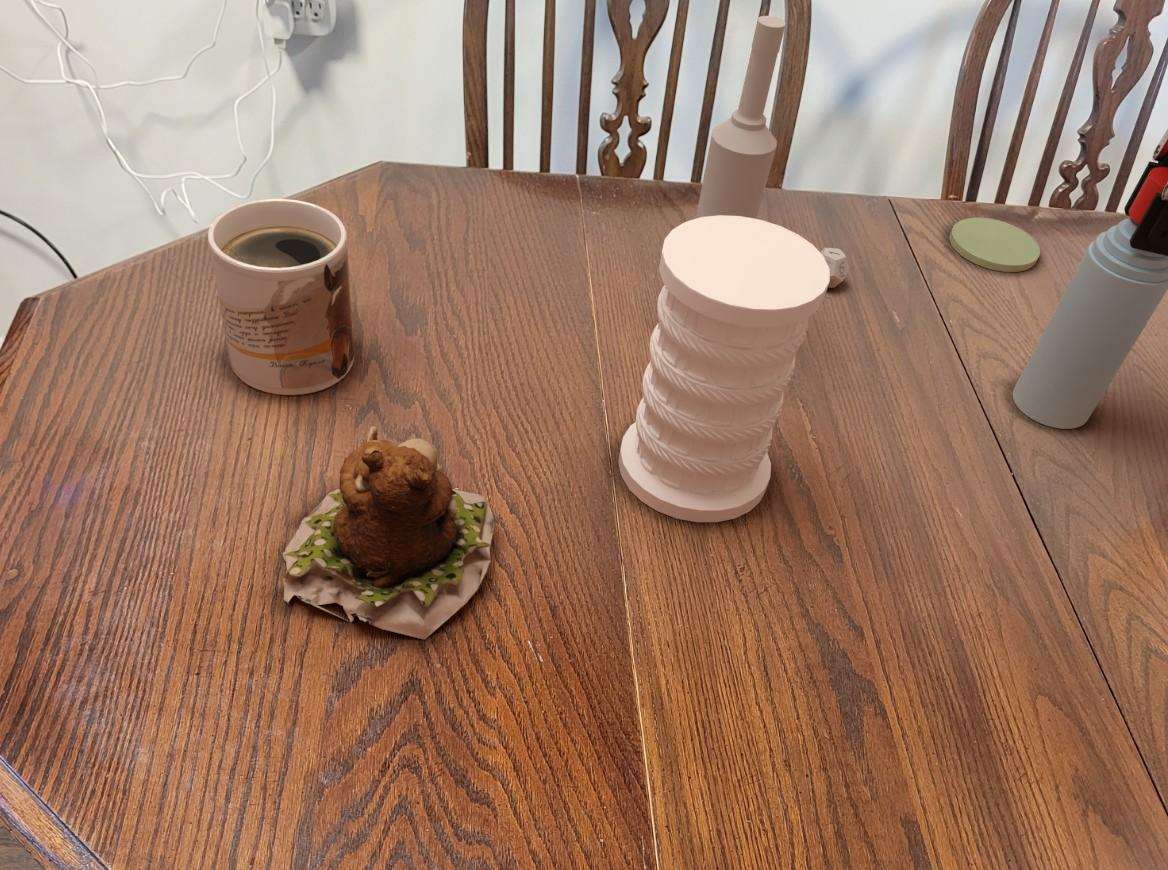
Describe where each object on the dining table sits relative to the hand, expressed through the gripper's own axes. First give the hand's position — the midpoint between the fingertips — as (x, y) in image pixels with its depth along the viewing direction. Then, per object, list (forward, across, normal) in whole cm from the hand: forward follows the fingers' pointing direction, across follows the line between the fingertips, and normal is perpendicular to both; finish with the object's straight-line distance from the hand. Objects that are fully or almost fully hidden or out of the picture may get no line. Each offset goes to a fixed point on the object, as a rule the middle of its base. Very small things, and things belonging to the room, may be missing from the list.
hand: (1148, 231), depth 78 cm
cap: (-1, 0, 0) cm, 1 cm away
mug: (+17, -18, +61) cm, 66 cm away
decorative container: (+17, -20, +28) cm, 38 cm away
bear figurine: (+17, -36, +46) cm, 61 cm away
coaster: (+16, +25, +5) cm, 30 cm away
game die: (+17, +11, +21) cm, 29 cm away
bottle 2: (+16, 0, 0) cm, 16 cm away
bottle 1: (+17, 0, +31) cm, 35 cm away
